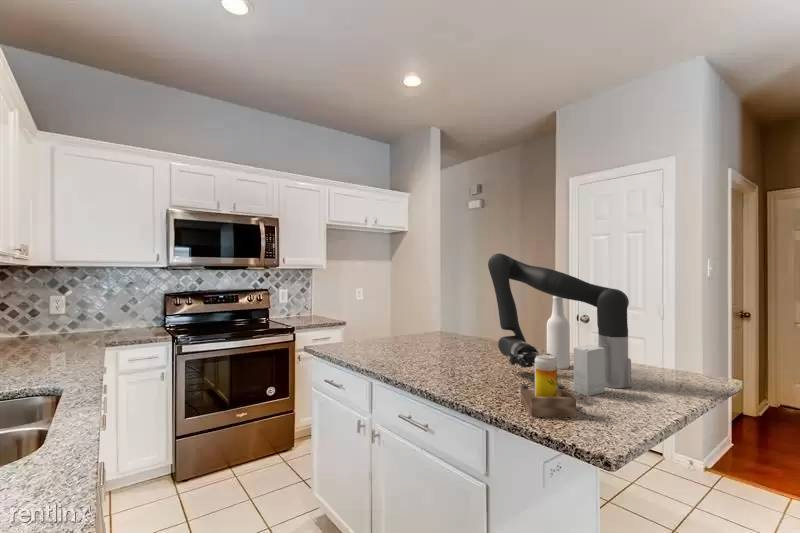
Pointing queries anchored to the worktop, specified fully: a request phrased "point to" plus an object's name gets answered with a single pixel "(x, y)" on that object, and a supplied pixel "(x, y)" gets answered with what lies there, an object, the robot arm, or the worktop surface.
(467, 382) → the worktop surface
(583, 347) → the skincare box
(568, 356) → the alcohol
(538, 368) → the beer can
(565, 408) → the holder
